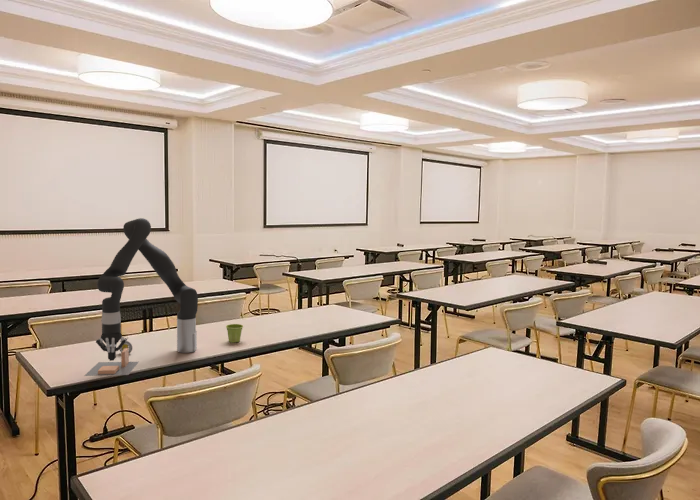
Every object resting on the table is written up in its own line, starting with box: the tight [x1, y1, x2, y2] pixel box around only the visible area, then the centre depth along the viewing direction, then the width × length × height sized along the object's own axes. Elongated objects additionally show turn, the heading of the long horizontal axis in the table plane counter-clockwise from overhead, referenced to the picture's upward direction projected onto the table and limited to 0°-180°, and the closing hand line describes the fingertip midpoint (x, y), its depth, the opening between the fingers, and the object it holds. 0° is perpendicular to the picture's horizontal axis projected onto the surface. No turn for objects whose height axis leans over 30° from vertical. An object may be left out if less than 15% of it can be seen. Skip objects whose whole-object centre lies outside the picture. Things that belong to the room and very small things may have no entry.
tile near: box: [98, 366, 119, 374], centre depth 221 cm, size 2×6×7 cm
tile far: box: [120, 347, 130, 367], centre depth 230 cm, size 2×6×7 cm, turn 9°
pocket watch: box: [118, 335, 133, 354], centre depth 244 cm, size 8×8×10 cm
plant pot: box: [225, 323, 244, 344], centre depth 278 cm, size 9×9×9 cm
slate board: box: [84, 361, 140, 377], centre depth 226 cm, size 18×18×1 cm
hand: (111, 360), depth 221 cm, fingers closed
